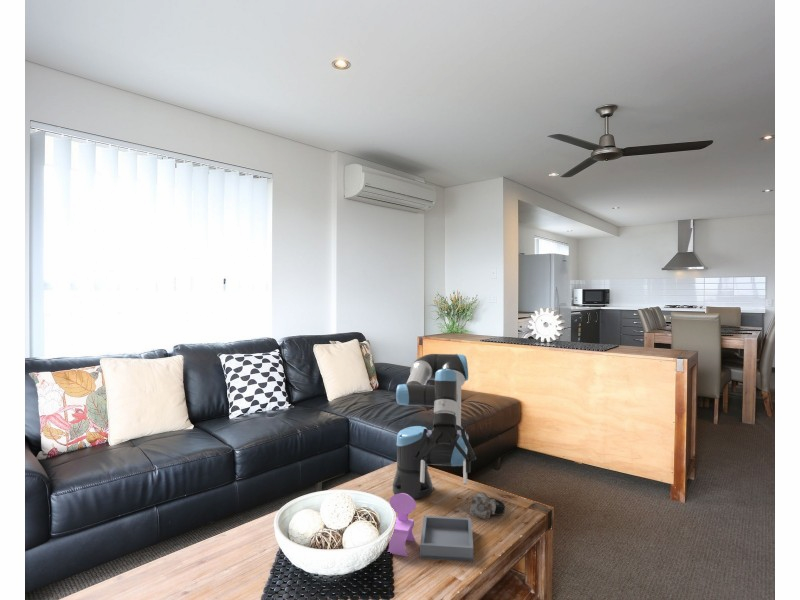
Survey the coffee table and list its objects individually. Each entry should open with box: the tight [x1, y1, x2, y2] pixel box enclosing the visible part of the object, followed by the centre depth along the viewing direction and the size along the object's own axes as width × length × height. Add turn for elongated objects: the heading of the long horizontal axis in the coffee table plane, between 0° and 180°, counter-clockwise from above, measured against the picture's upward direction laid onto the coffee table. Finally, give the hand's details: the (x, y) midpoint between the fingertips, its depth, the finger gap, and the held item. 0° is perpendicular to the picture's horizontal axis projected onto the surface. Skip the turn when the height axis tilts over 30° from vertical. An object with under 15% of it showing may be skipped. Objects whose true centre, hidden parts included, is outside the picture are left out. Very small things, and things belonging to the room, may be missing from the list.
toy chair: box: [387, 493, 417, 557], centre depth 134 cm, size 8×9×15 cm
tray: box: [419, 515, 474, 563], centre depth 135 cm, size 16×15×4 cm
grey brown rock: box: [468, 492, 506, 521], centre depth 153 cm, size 7×11×10 cm
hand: (443, 483), depth 139 cm, fingers open, 13 cm apart
